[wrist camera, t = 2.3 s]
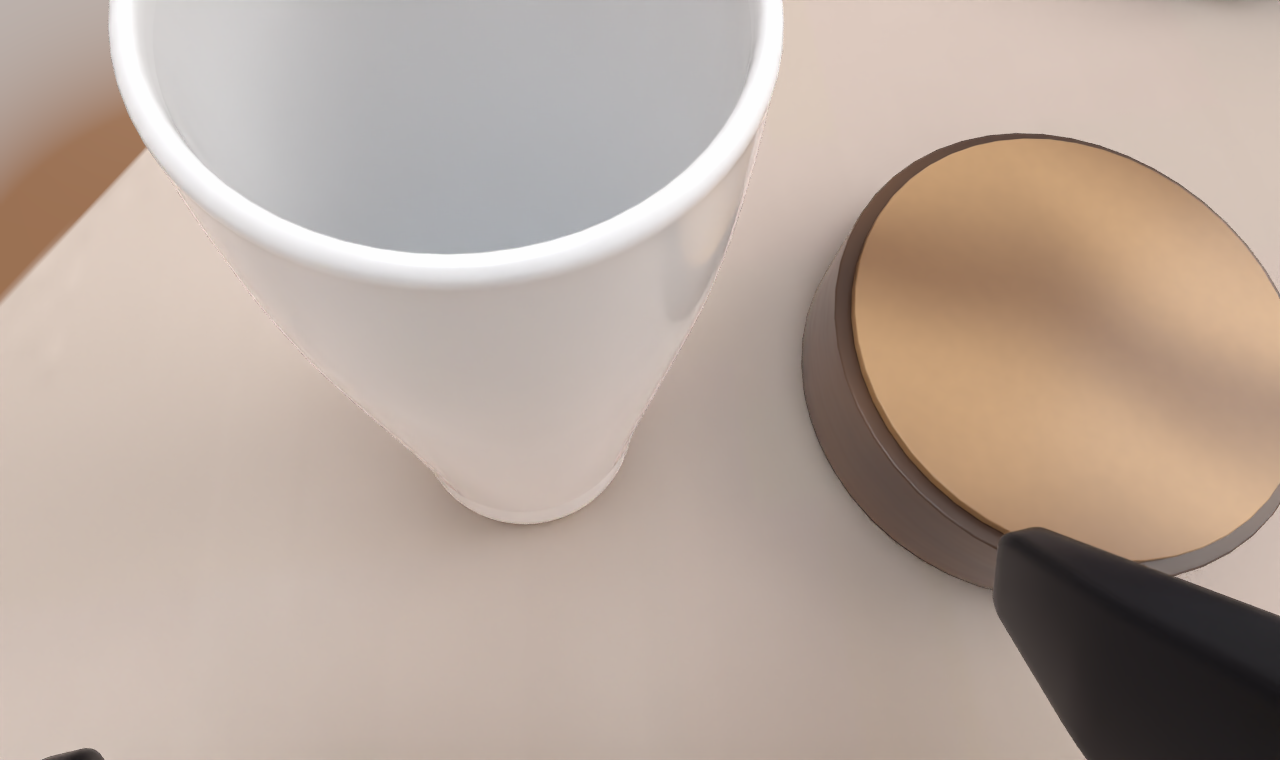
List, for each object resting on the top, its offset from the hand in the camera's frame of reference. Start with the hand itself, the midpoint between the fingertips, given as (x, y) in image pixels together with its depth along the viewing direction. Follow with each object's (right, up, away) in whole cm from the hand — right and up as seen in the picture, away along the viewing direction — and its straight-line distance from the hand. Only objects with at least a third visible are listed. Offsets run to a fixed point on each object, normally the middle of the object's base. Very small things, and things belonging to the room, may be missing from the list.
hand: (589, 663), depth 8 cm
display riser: (+11, +3, +16) cm, 19 cm away
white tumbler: (-2, +1, +14) cm, 14 cm away
